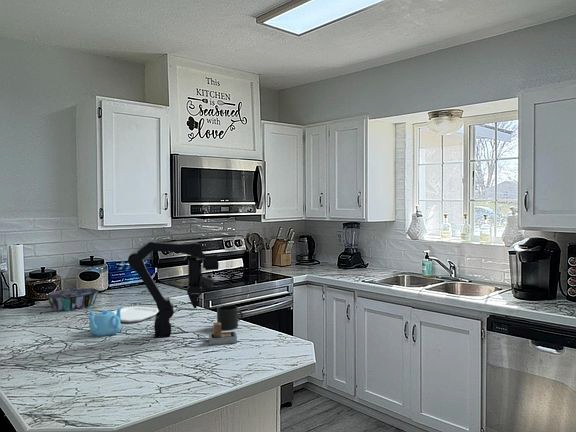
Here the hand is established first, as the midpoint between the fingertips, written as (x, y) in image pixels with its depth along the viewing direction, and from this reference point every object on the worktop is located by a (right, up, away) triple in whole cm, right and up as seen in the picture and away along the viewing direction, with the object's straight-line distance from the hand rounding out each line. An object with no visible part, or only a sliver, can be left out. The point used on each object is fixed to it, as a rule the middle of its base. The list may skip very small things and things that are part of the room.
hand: (195, 305), depth 206 cm
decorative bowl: (-79, -12, +55) cm, 97 cm away
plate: (-38, -12, +31) cm, 51 cm away
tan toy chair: (+13, -12, -13) cm, 22 cm away
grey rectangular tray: (+14, -12, -13) cm, 23 cm away
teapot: (-42, -13, +3) cm, 44 cm away
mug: (+14, -12, +8) cm, 20 cm away
